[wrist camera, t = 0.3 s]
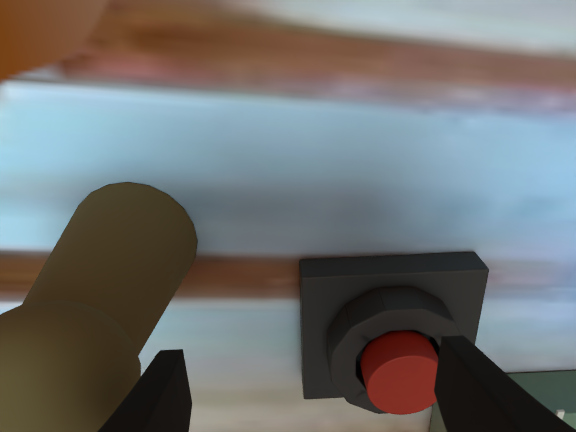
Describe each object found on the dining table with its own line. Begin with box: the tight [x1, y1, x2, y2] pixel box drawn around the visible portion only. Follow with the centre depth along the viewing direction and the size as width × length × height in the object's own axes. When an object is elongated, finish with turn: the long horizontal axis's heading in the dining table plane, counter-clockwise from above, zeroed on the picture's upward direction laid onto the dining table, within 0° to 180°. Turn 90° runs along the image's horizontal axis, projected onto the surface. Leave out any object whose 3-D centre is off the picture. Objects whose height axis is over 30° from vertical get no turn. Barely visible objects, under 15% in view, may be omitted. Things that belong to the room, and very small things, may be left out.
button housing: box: [299, 252, 489, 414], centre depth 23 cm, size 8×9×4 cm
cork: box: [0, 182, 197, 432], centre depth 17 cm, size 6×6×11 cm
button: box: [360, 330, 438, 415], centre depth 21 cm, size 4×4×2 cm
